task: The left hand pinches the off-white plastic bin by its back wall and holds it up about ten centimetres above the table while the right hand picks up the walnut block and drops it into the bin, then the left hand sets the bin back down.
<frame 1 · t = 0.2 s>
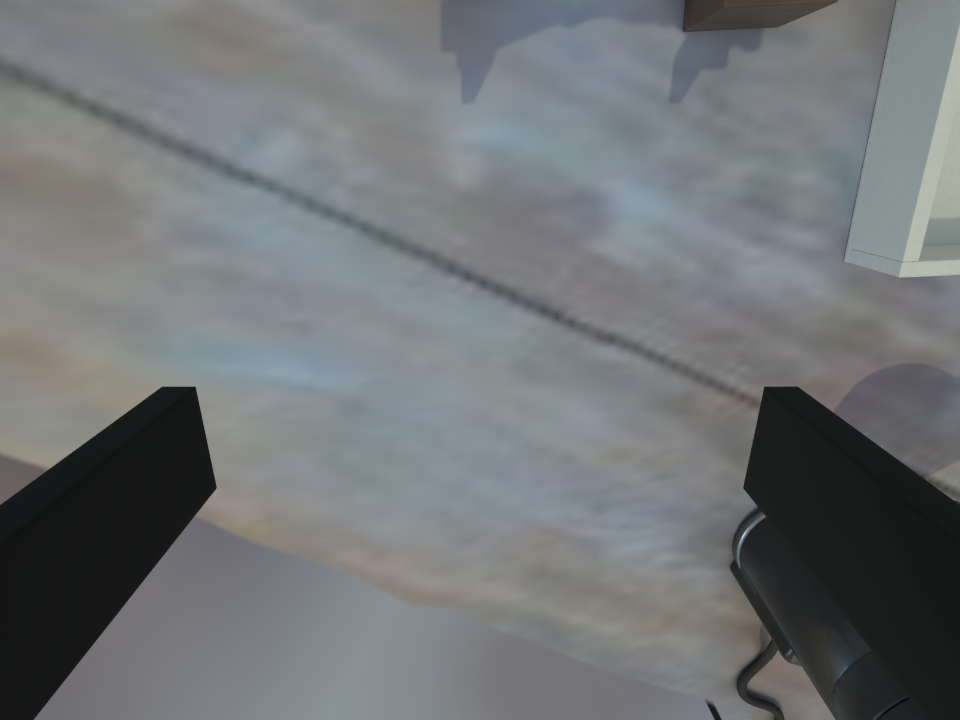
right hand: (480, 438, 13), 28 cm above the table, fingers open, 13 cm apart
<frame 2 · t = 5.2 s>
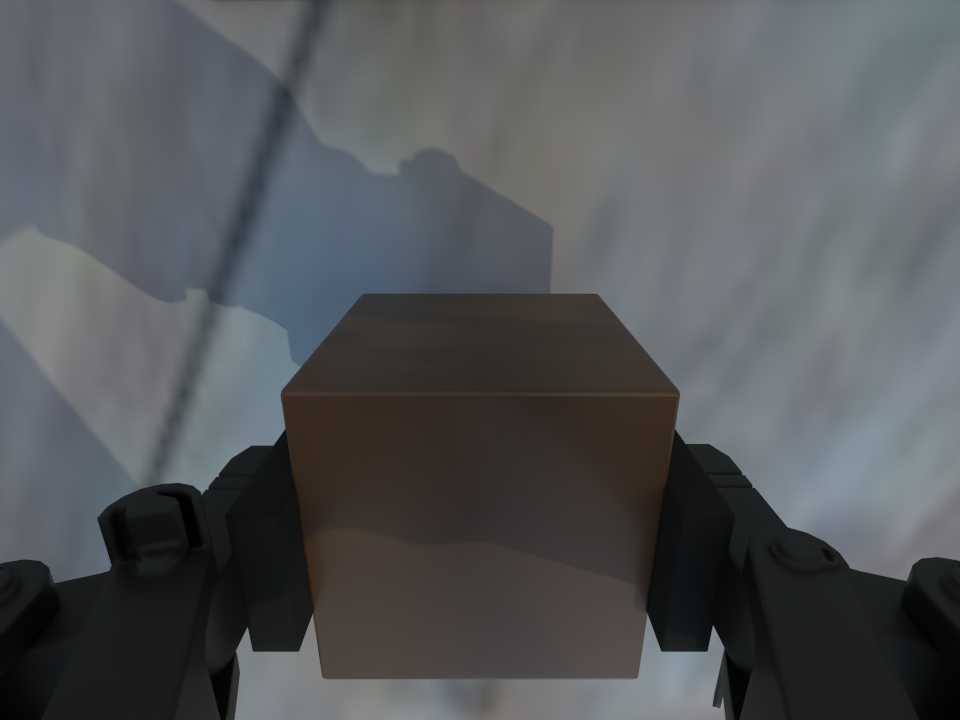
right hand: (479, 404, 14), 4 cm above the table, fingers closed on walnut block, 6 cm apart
walnut block: (480, 400, 15), point 4 cm above the table, touching right hand
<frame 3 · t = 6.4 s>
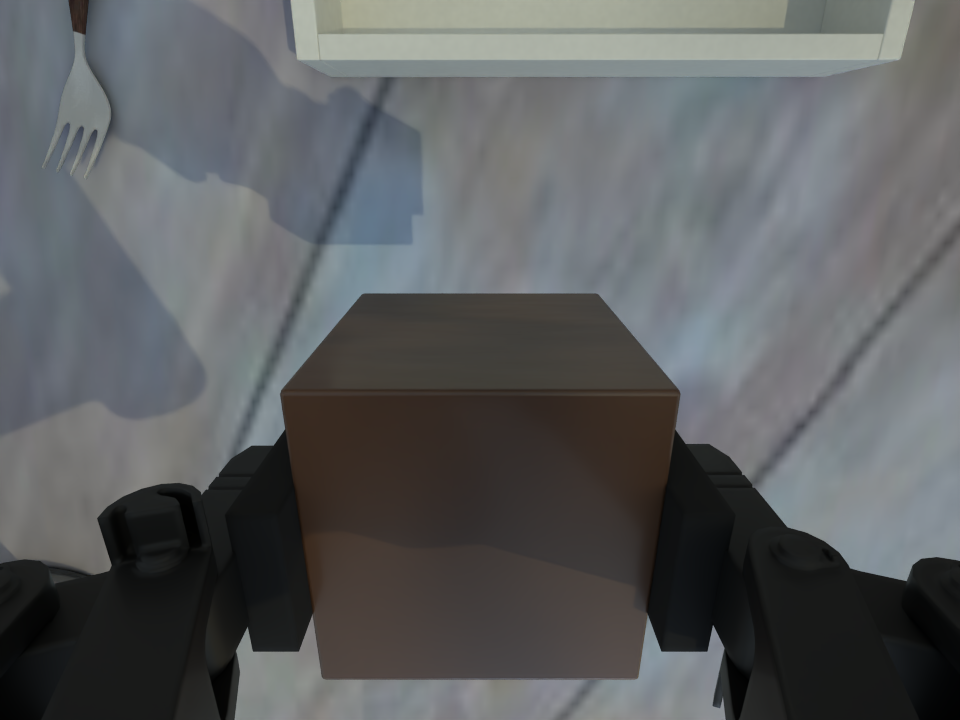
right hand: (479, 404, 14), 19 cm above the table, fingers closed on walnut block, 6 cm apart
fork: (87, 10, 27), on the table
walnut block: (480, 400, 15), point 18 cm above the table, touching right hand
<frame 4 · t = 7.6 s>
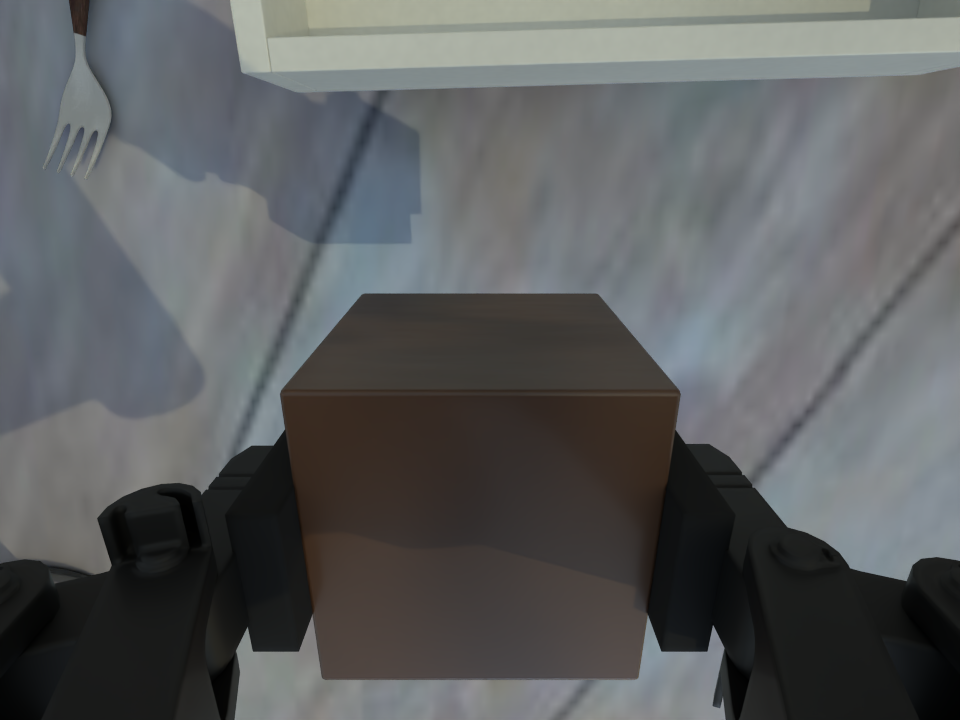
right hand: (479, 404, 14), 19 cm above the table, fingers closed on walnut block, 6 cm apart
fork: (88, 12, 27), on the table
walnut block: (480, 400, 15), point 19 cm above the table, touching right hand
when the right hand's fingers open (19 cm above the table, at t = 10.5 s): walnut block drops 18 cm, resting on bin.
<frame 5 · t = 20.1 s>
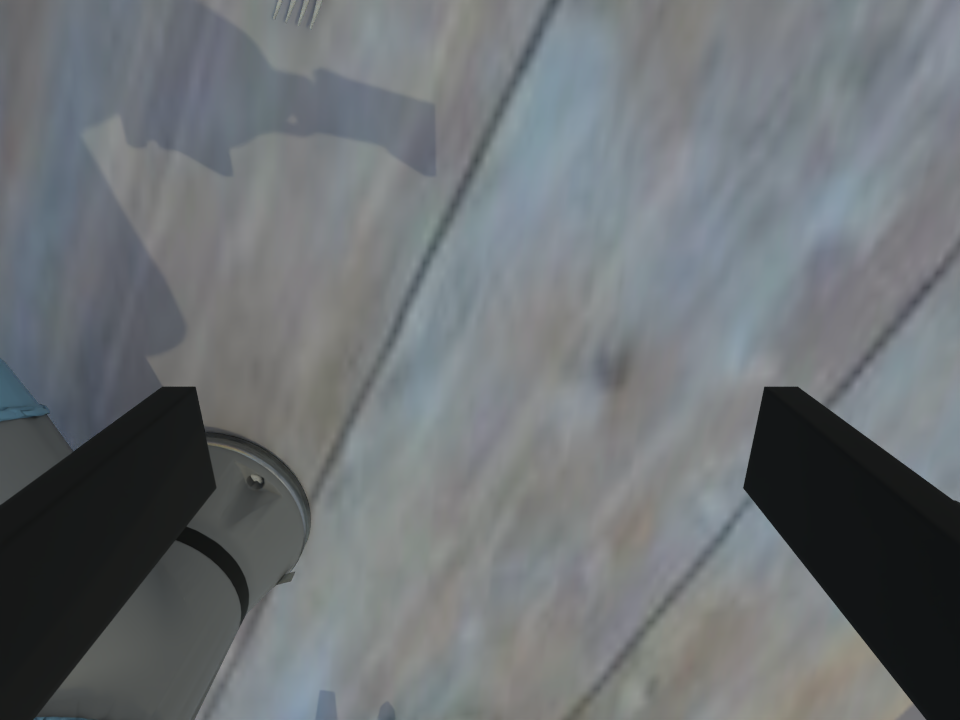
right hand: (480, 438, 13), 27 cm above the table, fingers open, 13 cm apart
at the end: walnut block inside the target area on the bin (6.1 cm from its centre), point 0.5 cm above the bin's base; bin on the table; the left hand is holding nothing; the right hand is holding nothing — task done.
